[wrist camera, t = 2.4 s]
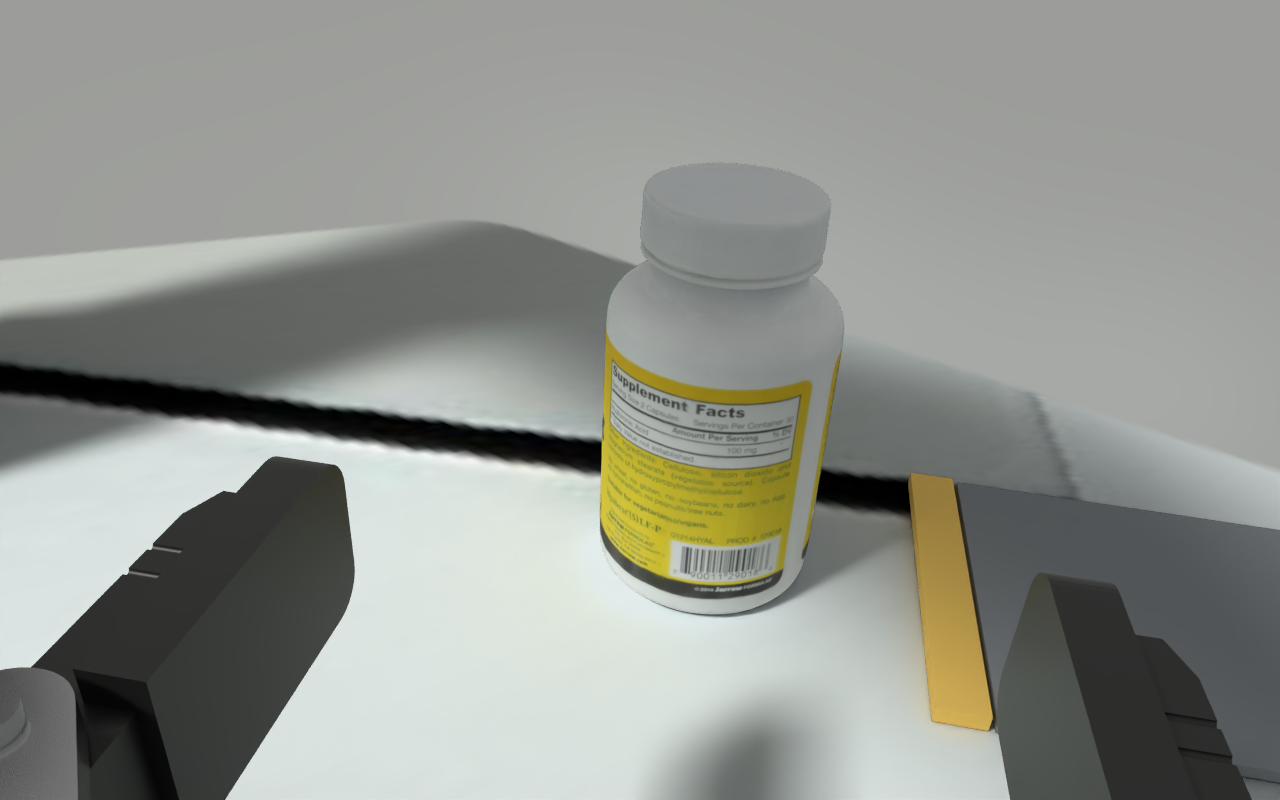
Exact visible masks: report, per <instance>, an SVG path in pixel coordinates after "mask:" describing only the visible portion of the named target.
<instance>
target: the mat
mask: <svg viewBox="0 0 1280 800" xmlns="http://www.w3.org/2000/svg"><path fill="white" fill-rule="evenodd" d="M908 489H909V499H910V509H911V519H912V529H913V539H914V549H915V559H916V569H917V579H918V589H919V599H920V609H921V620H922V630H923V640H924V650H925V660H926V670H927V680H928V690H929V700H930V710H931V720H932V721H934V722H940V723H945V724H951V725H957V726H962V727H968V728H974V729H979V730H985V731H989V728H990V725H991V722H992V720H994V726H995V732H996V733H998V725H997V699H998V690H999V684H1000V679H1001V674H1002V671H1003V668H1004V665H1005V662H1006V659H1007V656H1008V653H1009V649H1010V646H1011V643H1012V640H1013V637H1014V634H1015V631H1016V628H1017V625H1018V622H1019V619H1020V616H1021V613H1022V610H1023V607H1024V604H1025V601H1026V598H1027V595H1028V592H1029V589H1030V586H1031V583H1032V581H1033V579H1034V578H1035V576H1036V575H1037V574H1038V573H1041V572H1042V573H1049V574H1056V575H1063V576H1069V577H1076V578H1083V579H1089V580H1096V581H1103V582H1109V583H1113V584H1114V585H1115V586H1116V587H1117V589H1118V591H1119V593H1120V595H1121V598H1122V600H1123V603H1124V606H1125V608H1126V611H1127V614H1128V616H1129V619H1130V622H1131V624H1132V627H1133V630H1134V632H1135V635H1141V636H1148V637H1154V638H1161V639H1163V640H1164V641H1165V642H1166V643H1167V644H1168V645H1169V646H1170V647H1171V648H1172V650H1173V651H1174V652H1175V653H1176V654H1177V655H1178V656H1179V657H1180V658H1181V659H1182V660H1183V661H1184V662H1185V664H1186V665H1187V666H1188V667H1189V668H1190V669H1191V670H1192V671H1193V672H1194V673H1195V674H1196V675H1197V677H1198V678H1199V679H1200V681H1201V684H1202V686H1203V688H1204V691H1205V693H1206V695H1207V698H1208V700H1209V702H1210V705H1211V707H1212V709H1213V712H1214V714H1215V716H1216V718H1217V729H1221V730H1222V732H1223V735H1224V737H1225V739H1226V742H1227V744H1228V746H1229V749H1230V751H1231V753H1232V756H1233V757H1232V764H1233V765H1237V767H1238V769H1239V772H1240V774H1241V776H1243V777H1249V778H1255V779H1260V780H1266V781H1271V782H1277V783H1280V530H1275V529H1268V528H1261V527H1255V526H1248V525H1241V524H1235V523H1228V522H1221V521H1214V520H1208V519H1201V518H1194V517H1187V516H1181V515H1174V514H1167V513H1161V512H1154V511H1147V510H1140V509H1134V508H1127V507H1120V506H1113V505H1107V504H1100V503H1093V502H1087V501H1080V500H1073V499H1066V498H1060V497H1053V496H1046V495H1039V494H1033V493H1026V492H1019V491H1012V490H1006V489H999V488H992V487H986V486H979V485H972V484H965V483H959V482H957V484H956V488H955V490H954V484H953V479H951V478H945V477H938V476H931V475H924V474H918V473H910V478H909V482H908ZM955 495H956V496H955ZM956 501H957V502H956ZM957 507H958V508H957ZM958 513H959V514H958ZM959 519H960V520H959ZM960 525H961V526H960ZM961 531H962V532H961ZM962 537H963V538H962ZM963 542H964V543H963ZM964 548H965V549H964ZM965 554H966V555H965ZM966 560H967V561H966ZM967 566H968V567H967ZM968 572H969V573H968ZM969 578H970V579H969ZM970 584H971V585H970ZM971 590H972V591H971ZM972 596H973V597H972ZM973 602H974V603H973ZM974 608H975V609H974ZM975 614H976V615H975ZM976 620H977V621H976ZM977 626H978V627H977ZM978 631H979V633H978ZM979 637H980V639H979ZM980 643H981V644H980ZM981 649H982V650H981ZM982 655H983V656H982ZM983 661H984V662H983ZM984 667H985V668H984ZM985 673H986V674H985ZM986 679H987V680H986ZM987 685H988V686H987ZM988 691H989V692H988ZM989 697H990V698H989ZM990 703H991V704H990ZM991 709H992V710H991ZM992 715H993V716H992Z"/></svg>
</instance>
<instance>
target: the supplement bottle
mask: <svg viewBox="0 0 1280 800" xmlns="http://www.w3.org/2000/svg"><path fill="white" fill-rule="evenodd" d="M830 209H831V202H830V198H829V196H828V194H827V193H826V192H825V191H824V190H823V189H822V188H821V187H820V186H818V185H817V184H815V183H814V182H812V181H810V180H808V179H806V178H803V177H801V176H798V175H796V174H793V173H790V172H786V171H783V170H778V169H774V168H768V167H762V166H756V165H748V164H738V163H702V164H690V165H684V166H678V167H673V168H670V169H667V170H664V171H661V172H659V173H657V174H655V175H654V176H653V177H651V178H650V179H649V180H648V182H647V183H646V185H645V188H644V194H643V210H642V222H641V228H640V236H641V240H642V241H641V250H642V253H643V255H644V256H645V258H646V259H647V261H645V262H643V263H641V264H639V265H638V266H636V267H634V268H633V269H632V270H631V271H629V272H628V273H627V274H626V275H625V276H624V277H623V278H622V279H621V280H620V281H619V282H618V284H617V285H616V287H615V289H614V290H613V292H612V294H611V297H610V300H609V303H608V311H607V320H606V341H605V376H604V408H603V436H602V463H601V494H600V541H601V546H602V550H603V554H604V556H605V558H606V561H607V563H608V564H609V566H610V568H611V569H612V570H613V572H614V573H615V574H616V575H617V576H618V577H619V578H620V579H621V580H622V581H623V582H624V583H625V584H626V585H627V586H628V587H630V588H631V589H632V590H634V591H635V592H637V593H638V594H640V595H642V596H643V597H645V598H647V599H649V600H651V601H653V602H656V603H658V604H661V605H663V606H666V607H669V608H672V609H676V610H680V611H684V612H690V613H699V614H728V613H736V612H742V611H745V610H749V609H753V608H755V607H758V606H760V605H763V604H765V603H767V602H769V601H771V600H773V599H774V598H776V597H777V596H779V595H780V594H782V593H783V592H784V591H785V590H786V589H787V588H788V587H789V586H790V585H791V584H792V583H793V582H794V580H795V579H796V577H797V576H798V574H799V572H800V570H801V568H802V565H803V562H804V559H805V554H806V550H807V546H808V541H809V535H810V530H811V525H812V519H813V514H814V508H815V502H816V496H817V490H818V484H819V478H820V472H821V467H822V461H823V455H824V449H825V444H826V438H827V432H828V426H829V420H830V414H831V409H832V403H833V397H834V391H835V386H836V380H837V374H838V368H839V363H840V357H841V351H842V342H843V334H844V321H843V314H842V311H841V308H840V305H839V303H838V301H837V299H836V298H835V296H834V295H833V293H832V292H831V291H830V290H829V289H828V287H826V285H824V284H823V283H822V282H821V281H820V280H819V279H817V278H816V277H815V276H813V274H815V273H816V272H817V271H818V270H819V268H820V267H821V265H822V262H823V254H824V251H825V245H826V239H827V231H828V225H829V218H830V211H831V210H830Z"/></svg>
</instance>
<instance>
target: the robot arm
mask: <svg viewBox="0 0 1280 800" xmlns="http://www.w3.org/2000/svg"><path fill="white" fill-rule="evenodd" d="M354 573H355V567H354V557H353V549H352V540H351V532H350V524H349V516H348V508H347V499H346V491H345V483H344V478H343V475H342V472H341V470H340V469H339V468H338V467H337V466H336V465H331V464H325V463H318V462H311V461H304V460H298V459H291V458H284V457H276V456H275V457H272V458H270V459H268V460H267V461H266V462H265V463H264V464H263V465H262V466H261V467H260V468H259V469H258V470H257V471H256V472H255V473H254V474H253V475H252V476H251V478H250V479H249V480H248V481H247V482H246V483H245V484H244V485H243V486H242V487H241V488H240V489H239V490H238V492H237V493H233V492H226V491H223V492H221V493H219V494H217V495H215V496H214V497H212V498H210V499H208V500H206V501H205V502H203V503H201V504H199V505H197V506H196V507H194V508H192V509H190V510H188V511H187V512H185V513H183V514H182V515H181V516H180V517H179V518H178V519H177V520H176V521H175V522H174V523H173V524H172V525H171V526H170V527H169V528H168V529H167V530H166V531H165V532H164V533H163V534H162V535H161V536H160V537H159V538H158V539H157V540H156V541H155V542H154V543H153V548H152V550H146V551H145V552H144V553H143V554H142V555H141V556H140V557H139V558H138V559H137V560H136V561H135V562H134V563H133V564H132V565H131V566H130V567H129V572H128V574H127V575H124V574H123V575H122V576H121V577H120V578H119V579H118V580H117V581H116V582H115V583H114V584H113V585H112V586H111V587H110V588H109V589H108V590H107V591H106V592H105V593H104V594H103V595H102V596H101V597H100V598H99V599H98V600H97V601H96V602H95V603H94V604H93V605H92V606H91V607H90V608H89V609H88V610H87V611H86V612H85V613H84V614H83V615H82V616H81V617H80V618H79V619H78V620H77V621H76V622H75V623H74V624H73V625H72V626H71V627H70V628H69V629H68V631H67V632H66V633H65V634H64V635H63V636H62V637H61V638H60V639H59V640H58V641H57V642H56V643H55V644H54V645H53V646H52V647H51V648H50V649H49V650H48V651H47V652H46V653H45V654H44V655H43V656H42V657H41V658H40V659H39V660H38V661H37V662H36V663H35V664H34V665H33V666H32V667H31V668H12V669H4V670H0V800H225V799H226V797H227V796H228V794H229V793H230V791H231V789H232V788H233V786H234V785H235V783H236V782H237V780H238V779H239V777H240V775H241V774H242V772H243V771H244V769H245V768H246V766H247V765H248V763H249V762H250V760H251V758H252V757H253V755H254V754H255V752H256V751H257V749H258V748H259V746H260V744H261V743H262V741H263V740H264V738H265V737H266V735H267V734H268V732H269V730H270V729H271V727H272V726H273V724H274V723H275V721H276V720H277V718H278V717H279V715H280V713H281V712H282V710H283V709H284V707H285V706H286V704H287V703H288V701H289V699H290V698H291V696H292V695H293V693H294V692H295V690H296V689H297V687H298V685H299V684H300V682H301V681H302V679H303V678H304V676H305V675H306V673H307V672H308V670H309V668H310V667H311V665H312V664H313V662H314V661H315V659H316V658H317V656H318V654H319V653H320V651H321V650H322V648H323V647H324V645H325V644H326V642H327V640H328V639H329V637H330V636H331V634H332V633H333V631H334V630H335V628H336V626H337V625H338V623H339V622H340V620H341V619H342V617H343V615H344V613H345V611H346V609H347V606H348V603H349V600H350V597H351V593H352V589H353V583H354ZM997 725H998V733H999V739H1000V745H1001V750H1002V756H1003V761H1004V767H1005V773H1006V778H1007V784H1008V789H1009V795H1010V800H1251V797H1250V795H1249V793H1248V790H1247V788H1246V786H1245V783H1244V781H1243V779H1242V776H1241V774H1240V772H1239V769H1238V767H1237V765H1233V764H1232V757H1233V756H1232V753H1231V751H1230V749H1229V746H1228V744H1227V742H1226V739H1225V737H1224V735H1223V732H1222V730H1221V729H1217V718H1216V716H1215V714H1214V712H1213V709H1212V707H1211V705H1210V702H1209V700H1208V698H1207V695H1206V693H1205V691H1204V688H1203V686H1202V684H1201V681H1200V679H1199V678H1198V677H1197V675H1196V674H1195V673H1194V672H1193V671H1192V670H1191V669H1190V668H1189V667H1188V666H1187V665H1186V664H1185V662H1184V661H1183V660H1182V659H1181V658H1180V657H1179V656H1178V655H1177V654H1176V653H1175V652H1174V651H1173V650H1172V648H1171V647H1170V646H1169V645H1168V644H1167V643H1166V642H1165V641H1164V640H1163V639H1161V638H1154V637H1148V636H1141V635H1135V632H1134V630H1133V627H1132V624H1131V622H1130V619H1129V616H1128V614H1127V611H1126V608H1125V606H1124V603H1123V600H1122V598H1121V595H1120V593H1119V591H1118V589H1117V587H1116V586H1115V585H1114V584H1113V583H1109V582H1103V581H1096V580H1089V579H1083V578H1076V577H1069V576H1063V575H1056V574H1049V573H1042V572H1041V573H1038V574H1037V575H1036V576H1035V578H1034V579H1033V581H1032V583H1031V586H1030V589H1029V592H1028V595H1027V598H1026V601H1025V604H1024V607H1023V610H1022V613H1021V616H1020V619H1019V622H1018V625H1017V628H1016V631H1015V634H1014V637H1013V640H1012V643H1011V646H1010V649H1009V653H1008V656H1007V659H1006V662H1005V665H1004V668H1003V671H1002V674H1001V679H1000V684H999V690H998V699H997Z"/></svg>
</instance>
